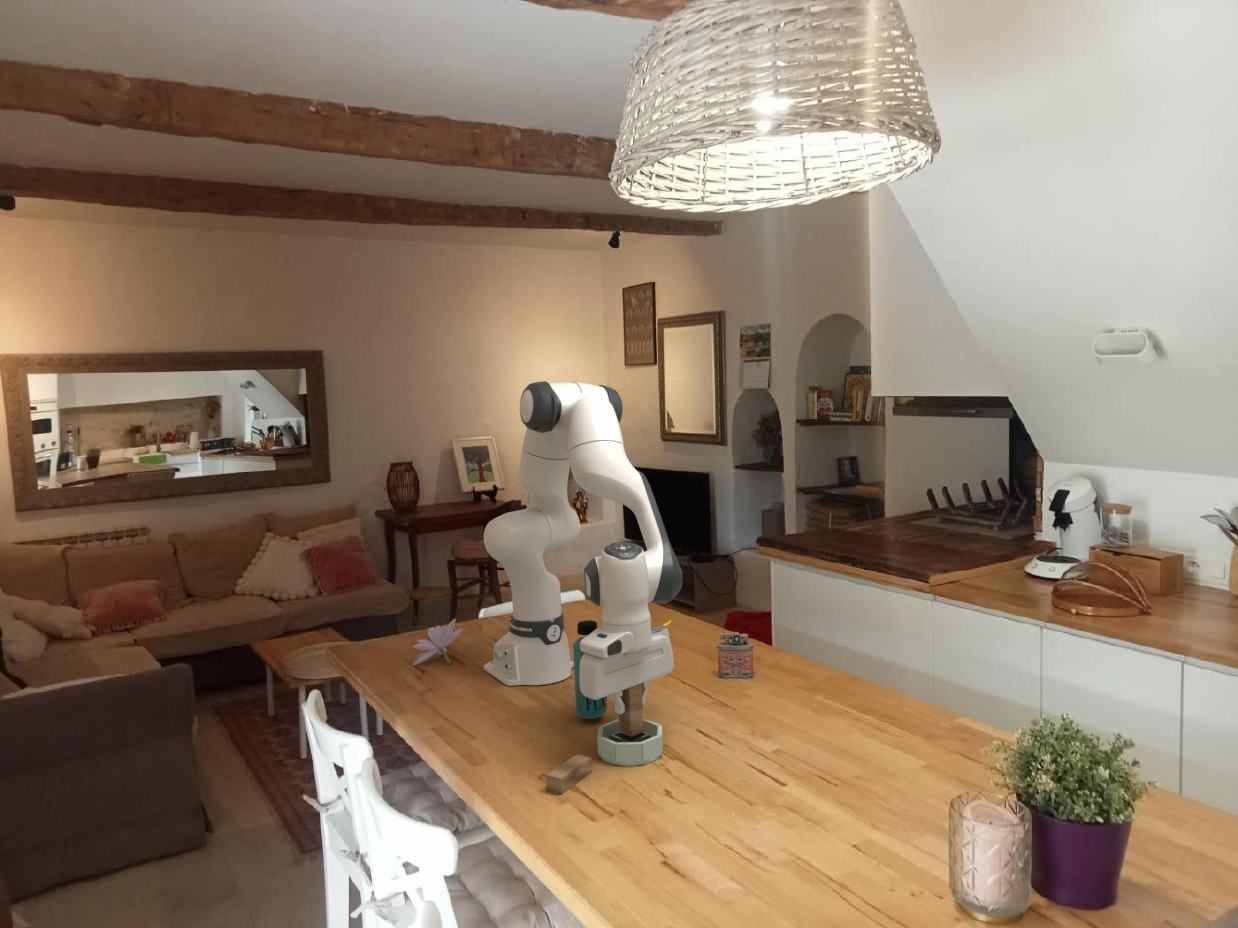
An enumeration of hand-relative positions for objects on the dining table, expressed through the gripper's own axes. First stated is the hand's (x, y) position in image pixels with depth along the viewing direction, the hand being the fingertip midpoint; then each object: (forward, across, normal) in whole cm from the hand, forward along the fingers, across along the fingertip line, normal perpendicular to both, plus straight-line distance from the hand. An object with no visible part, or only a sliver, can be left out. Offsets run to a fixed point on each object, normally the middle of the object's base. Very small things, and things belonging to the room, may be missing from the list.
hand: (630, 709), depth 162 cm
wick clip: (+8, 0, 0) cm, 8 cm away
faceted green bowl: (+8, 0, 0) cm, 8 cm away
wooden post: (+4, 0, 0) cm, 4 cm away
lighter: (+8, -43, -12) cm, 45 cm away
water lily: (+8, -4, -74) cm, 75 cm away
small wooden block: (+8, +15, +1) cm, 17 cm away
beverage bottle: (+8, -5, -17) cm, 20 cm away
